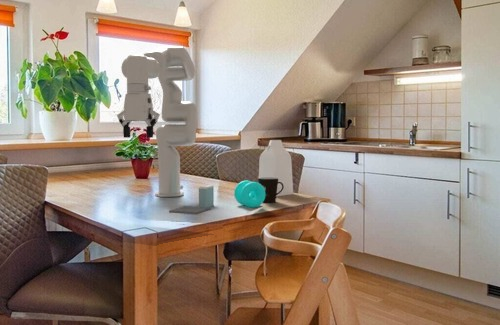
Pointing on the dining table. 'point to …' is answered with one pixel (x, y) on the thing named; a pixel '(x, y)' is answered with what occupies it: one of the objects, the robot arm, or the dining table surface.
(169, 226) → the dining table surface
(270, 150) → the milk
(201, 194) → the slab
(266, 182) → the coffee mug
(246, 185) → the teal spool
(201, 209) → the mat
